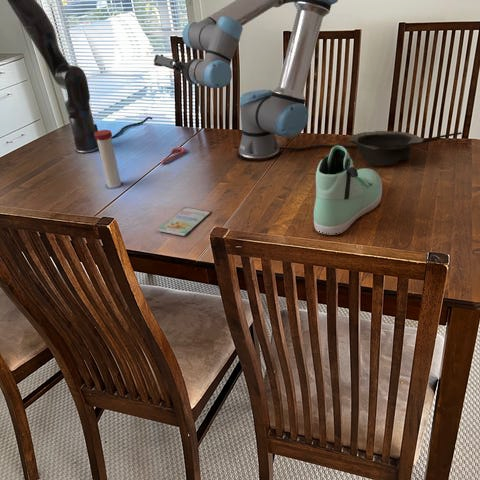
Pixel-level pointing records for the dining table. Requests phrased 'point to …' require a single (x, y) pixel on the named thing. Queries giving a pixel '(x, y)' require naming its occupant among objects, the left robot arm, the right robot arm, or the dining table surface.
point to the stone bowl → (384, 146)
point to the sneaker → (343, 192)
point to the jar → (109, 163)
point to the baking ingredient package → (183, 221)
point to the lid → (102, 134)
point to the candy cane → (182, 151)
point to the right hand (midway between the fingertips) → (174, 69)
